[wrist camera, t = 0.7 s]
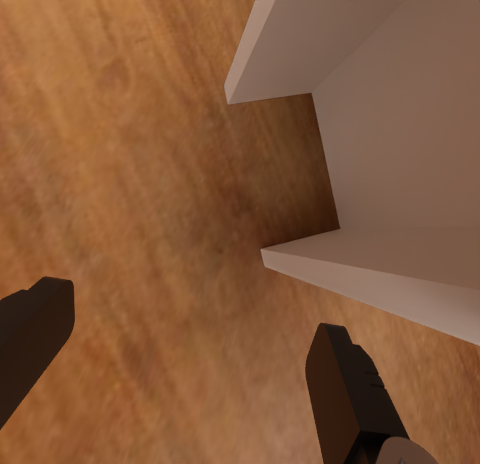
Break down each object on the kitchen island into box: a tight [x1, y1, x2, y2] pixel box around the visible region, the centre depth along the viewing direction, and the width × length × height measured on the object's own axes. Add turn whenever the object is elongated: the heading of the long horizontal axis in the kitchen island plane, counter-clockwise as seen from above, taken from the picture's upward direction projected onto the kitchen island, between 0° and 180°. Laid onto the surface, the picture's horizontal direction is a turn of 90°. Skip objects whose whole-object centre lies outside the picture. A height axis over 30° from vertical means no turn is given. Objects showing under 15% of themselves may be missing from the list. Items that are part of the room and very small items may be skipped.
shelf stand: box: [224, 0, 480, 346], centre depth 19 cm, size 20×16×32 cm
